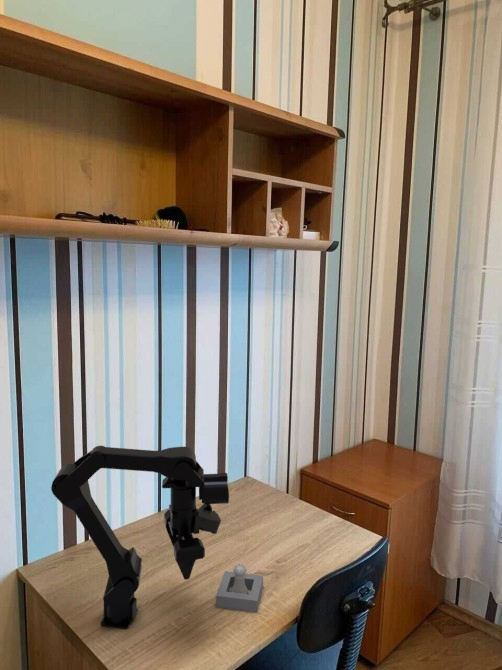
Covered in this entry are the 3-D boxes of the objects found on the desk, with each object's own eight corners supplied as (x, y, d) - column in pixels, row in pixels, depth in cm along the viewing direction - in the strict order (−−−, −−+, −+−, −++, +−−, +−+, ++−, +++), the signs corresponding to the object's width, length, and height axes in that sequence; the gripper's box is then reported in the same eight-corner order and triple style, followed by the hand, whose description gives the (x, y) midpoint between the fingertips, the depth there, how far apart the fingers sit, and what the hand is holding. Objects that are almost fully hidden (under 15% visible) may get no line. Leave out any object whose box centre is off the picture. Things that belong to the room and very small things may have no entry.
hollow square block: (215, 607, 124) (216, 595, 124) (224, 581, 134) (224, 571, 134) (257, 612, 123) (257, 600, 122) (262, 586, 132) (263, 575, 132)
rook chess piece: (230, 591, 130) (230, 561, 129) (247, 590, 131) (248, 561, 129) (230, 602, 126) (231, 572, 125) (248, 602, 126) (249, 572, 125)
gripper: (228, 518, 111) (227, 585, 113) (208, 482, 129) (208, 541, 131) (176, 526, 108) (176, 594, 110) (163, 487, 125) (163, 547, 128)
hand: (183, 567), depth 120 cm, fingers open, 9 cm apart
